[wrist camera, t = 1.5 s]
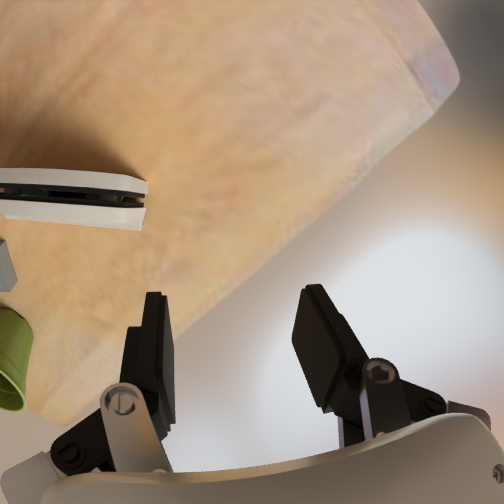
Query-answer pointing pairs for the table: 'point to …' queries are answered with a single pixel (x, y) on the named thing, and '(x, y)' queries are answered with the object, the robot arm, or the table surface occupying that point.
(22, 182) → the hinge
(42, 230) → the table surface
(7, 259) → the gray u-shaped block
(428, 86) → the table surface
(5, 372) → the plant pot
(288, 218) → the table surface
